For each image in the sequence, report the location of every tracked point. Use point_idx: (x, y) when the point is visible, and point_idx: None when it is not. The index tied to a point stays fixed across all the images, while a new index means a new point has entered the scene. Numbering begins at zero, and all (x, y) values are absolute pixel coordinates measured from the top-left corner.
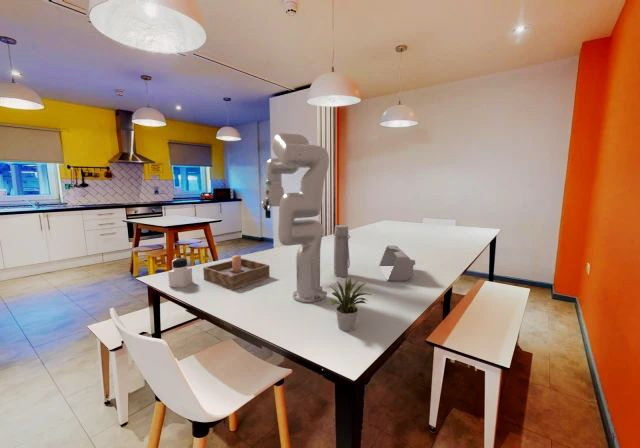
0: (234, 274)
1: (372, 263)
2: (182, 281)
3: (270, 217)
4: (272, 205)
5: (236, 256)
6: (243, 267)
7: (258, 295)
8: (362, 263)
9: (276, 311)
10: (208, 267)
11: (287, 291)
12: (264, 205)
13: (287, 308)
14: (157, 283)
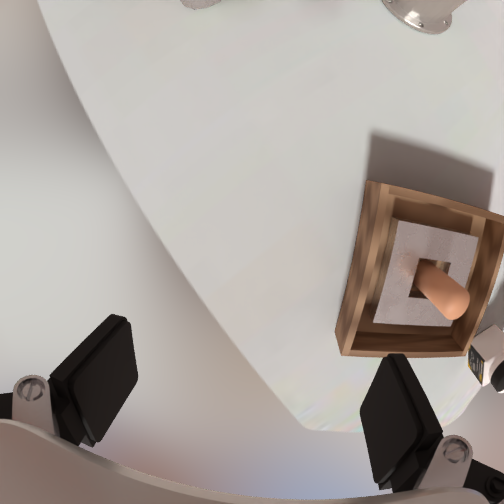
0: (456, 260)
1: (60, 18)
2: (502, 332)
3: (386, 357)
4: (466, 493)
5: (458, 301)
6: (387, 295)
7: (481, 118)
8: (67, 32)
9: (497, 46)
10: (457, 350)
11: (427, 58)
12: (499, 500)
13: (479, 29)
14: (478, 382)
